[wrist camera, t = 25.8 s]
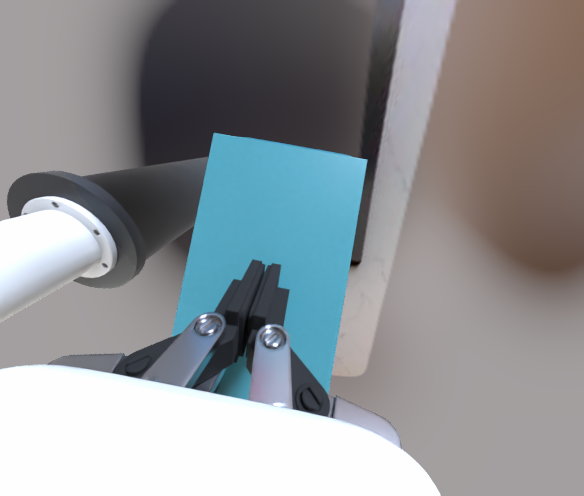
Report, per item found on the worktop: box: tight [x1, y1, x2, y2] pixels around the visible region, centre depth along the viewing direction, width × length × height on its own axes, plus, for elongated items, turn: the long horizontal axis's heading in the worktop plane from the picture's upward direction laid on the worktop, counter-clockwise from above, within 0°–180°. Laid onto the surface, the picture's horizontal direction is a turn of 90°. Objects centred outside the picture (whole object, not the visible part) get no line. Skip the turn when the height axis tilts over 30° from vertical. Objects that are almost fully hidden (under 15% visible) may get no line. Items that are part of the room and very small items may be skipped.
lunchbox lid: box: [171, 133, 367, 400], centre depth 12 cm, size 18×10×5 cm, turn 170°
